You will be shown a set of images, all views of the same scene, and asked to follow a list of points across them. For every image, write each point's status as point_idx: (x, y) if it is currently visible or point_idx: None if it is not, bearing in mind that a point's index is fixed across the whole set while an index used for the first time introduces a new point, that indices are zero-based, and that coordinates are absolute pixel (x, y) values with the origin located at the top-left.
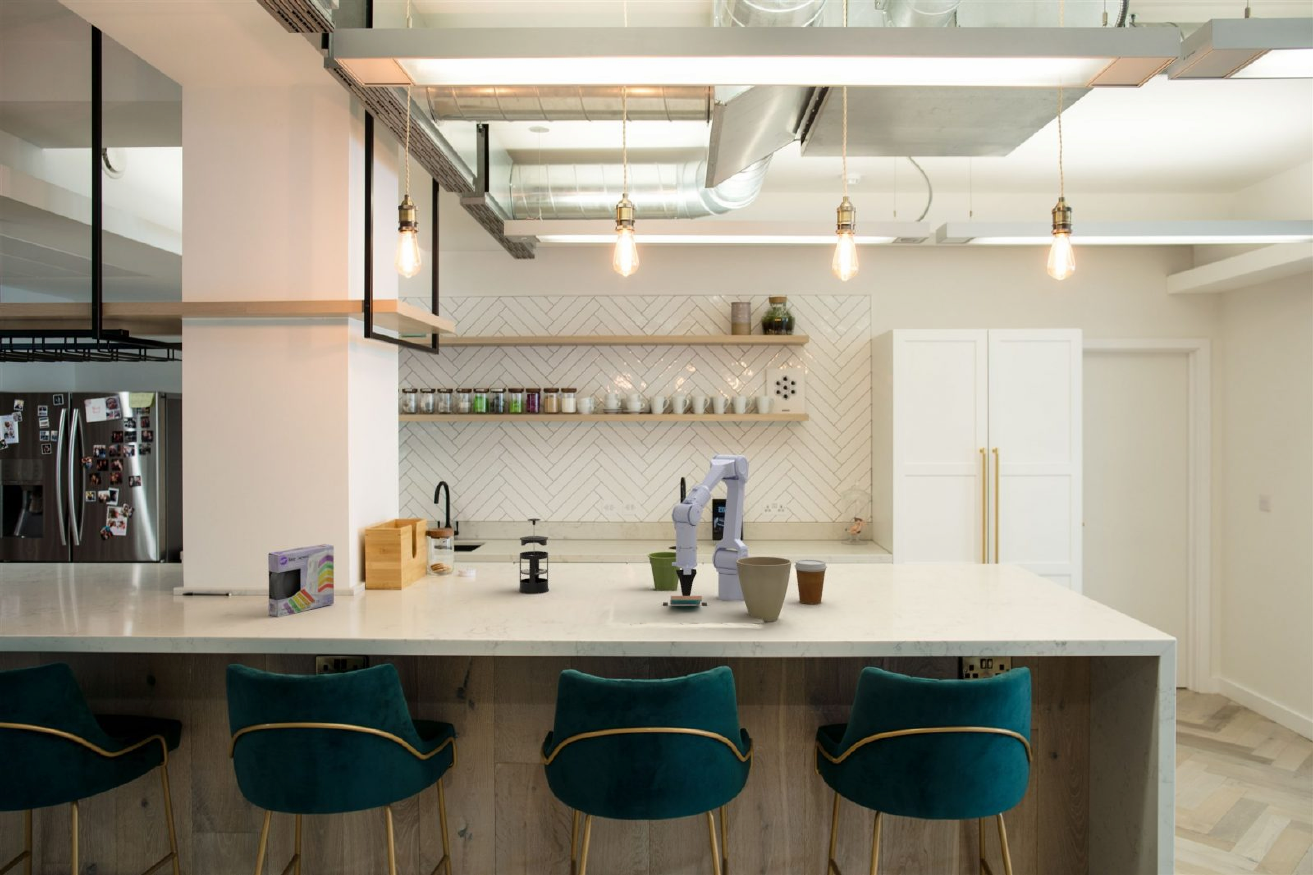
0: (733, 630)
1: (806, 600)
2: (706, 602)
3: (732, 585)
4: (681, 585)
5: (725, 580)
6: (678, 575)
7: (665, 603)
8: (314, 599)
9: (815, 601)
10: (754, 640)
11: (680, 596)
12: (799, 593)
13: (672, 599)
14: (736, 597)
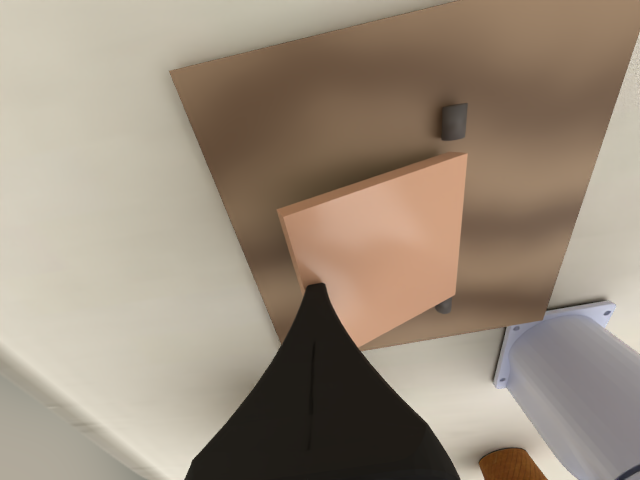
0: (171, 384)
1: (488, 466)
2: (447, 312)
3: (561, 419)
4: (285, 343)
5: (600, 426)
6: (200, 457)
7: (448, 124)
8: None
9: (482, 473)
10: (101, 423)
11: (300, 273)
12: (518, 475)
13: (280, 220)
14: (521, 378)
